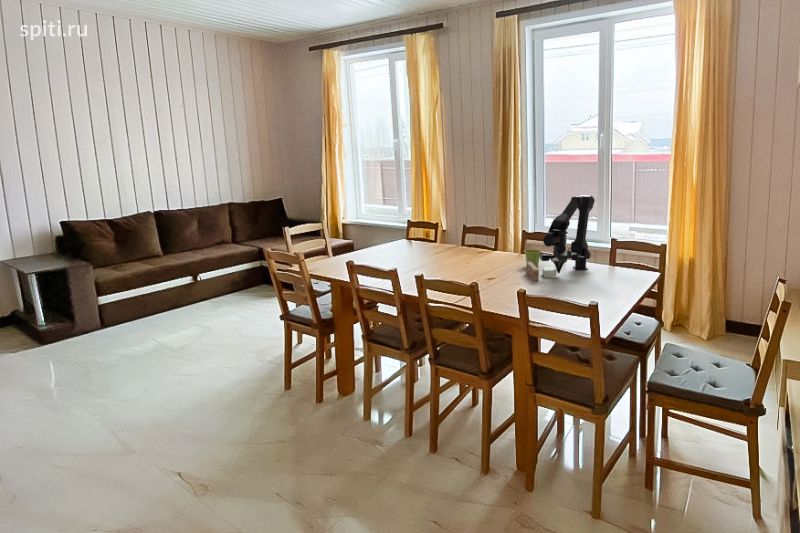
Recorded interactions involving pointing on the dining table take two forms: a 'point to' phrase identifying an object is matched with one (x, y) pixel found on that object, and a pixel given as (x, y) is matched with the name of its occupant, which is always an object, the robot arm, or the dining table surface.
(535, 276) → the walnut batten
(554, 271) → the sage block
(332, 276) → the dining table surface
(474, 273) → the dining table surface
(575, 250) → the robot arm
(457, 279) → the dining table surface
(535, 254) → the plant pot
